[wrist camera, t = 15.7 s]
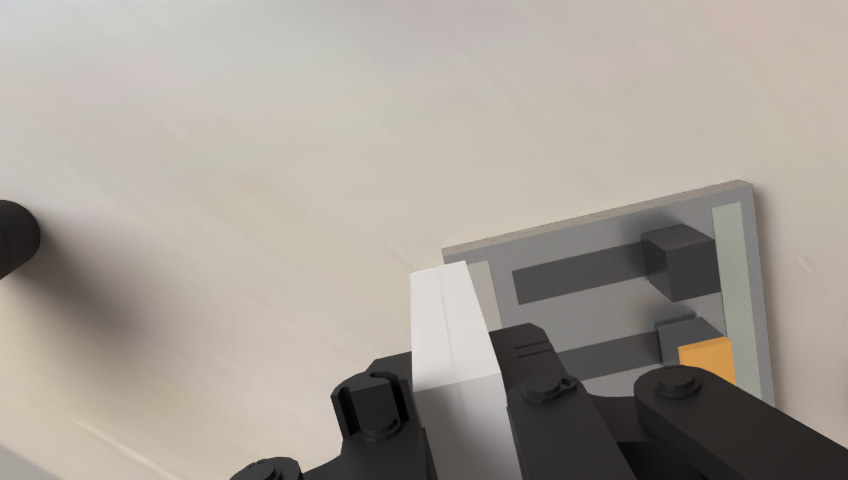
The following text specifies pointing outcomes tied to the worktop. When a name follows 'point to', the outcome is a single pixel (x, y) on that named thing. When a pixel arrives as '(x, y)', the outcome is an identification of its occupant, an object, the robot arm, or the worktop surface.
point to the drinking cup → (16, 236)
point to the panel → (632, 284)
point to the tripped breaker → (697, 347)
